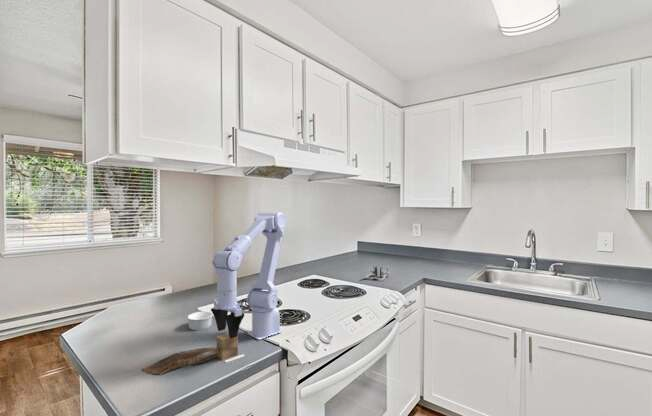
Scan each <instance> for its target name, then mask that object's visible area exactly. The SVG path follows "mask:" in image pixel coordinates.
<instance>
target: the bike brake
mask: <svg viewBox="0 0 652 416" xmlns="http://www.w3.org/2000/svg"><path fill="white" fill-rule="evenodd" d="M383 269H384V268H383V266H381V267H379V274H378V266H375V265H372V269H369V273H368V274H366V275H365V277H364V278H361V279H360V280H359V282H362V281H363V280H364V281H365V280H366V279H371V280H370V281H374V280H377V281H380V280H381V281H382V282H384V281H385V280H386V278H387V277H389V276H390V273H391V272H390V271H389V266H387V267H386V270H385V271H384V270H383ZM377 275H379V279H378V278H376V277H375V276H377ZM371 276H374V278H372V277H371ZM382 276H383V277H382ZM377 277H378V276H377ZM380 277H382V278H380ZM381 281H380V282H381Z"/></svg>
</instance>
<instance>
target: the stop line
mask: <svg viewBox="0 0 652 416" xmlns="http://www.w3.org/2000/svg"><path fill="white" fill-rule="evenodd" d="M245 356H246V355H244V354H240V355H236V356H233V357H230V358H228V359H225V360H223V361H224V363H226V364H227V363H230V362H233V361H235V360H239V359H241V358H243V357H245Z"/></svg>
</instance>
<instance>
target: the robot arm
mask: <svg viewBox="0 0 652 416" xmlns="http://www.w3.org/2000/svg"><path fill="white" fill-rule="evenodd" d="M286 224H287V220H286V218H285V215H284V213H283V212H282V211H278V212H264V211H260V212H258V213H257V215H255V216H254V220H253V223H252V224H251V225H250V226H249V227H248V228H247V230H246V231H245V233H243V234H238V235H236V236H235V237H234V239H233V240H232V241H231V242H230V243H229V244H228V245H227V246H225V248H224V250H219V251H217V252H216V253H215V255H214V257H213V260H212V266H213V267H214V269H215V273H216V280H217V283H216V290H217V291H216V292H217V293H216V294H217V296H216V297H217V298H214V299H213V308H211V309H210V312H211V313H212V314H213V317H214V319H215V320H214V321H215V324H216V327H217V328H216V329H217V331H218V332H221V331H224V330H226V328H227V330H228V331H227V333H229V337H230V338H234V337H237V335H238V334H239V330H240V326H241V324H242V321H243V319H244V317H245V313H243V308H241V307H240V305H239V303H238V299H237V297H238V295H237V294H238V290H237V289H238V288H237V287H238V286H237V284H238V283H237V280H238V279H237V278H238V277H237V269H238V268H239V267H240V266H241V263H242V260H243V256H245V254H246V253H247V252H248V251H249V250H250V249H251V248H252V242H253V241H254V240H255V239H256V238H257V237H258V236H260V234H261V233H262V235H263V236H265V238H266V243H265V248H264V252H263V253H264V254H263V258H262V263H261V266H260V270H259V275H258V280H257V281H256V282H254V283H253V284H252V285H251V287H250V291H249V292H248V294H247V298H246V302H247V306H249V307H250V310H251V313H252V314H251V322H252V323H251V325H252V326H251V330H250V331H247V333H246V334H247V335H249V336H251V337H253V338H254V339H255V340H257V341H261V340H264V339H266V337H267V338H269V337H268V336H270V337H272V336H271V335H273V336H275V335H274V334H276V335H278V334H277V333H279V334H281V333H282V331H281V322H280V321H281V320H280V319H281V315H280V311H279V309H278V307H277V305H278V300H279V299H278V295H279V294H278V293H279V289H278V288H277V286H276V285H275V284H274V279H275V274H276V269H277V264H278V258H279V254H280V250H281V249H280V248H281V244H282V239H283V236H284V234H285V230H286ZM228 313H230V314H228ZM280 332H281V333H280Z"/></svg>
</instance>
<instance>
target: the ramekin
mask: <svg viewBox="0 0 652 416" xmlns="http://www.w3.org/2000/svg"><path fill="white" fill-rule="evenodd" d="M213 317H214V315H213V313H212V311H206V310H205V311H196V312H193V313H191V314H188V315H187V319H188V320H187V321H188V328H189V329H190V330H192V331H201V330H205V329H209V328H210V327H211V326H212V322H213V321H212V320H213Z"/></svg>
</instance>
